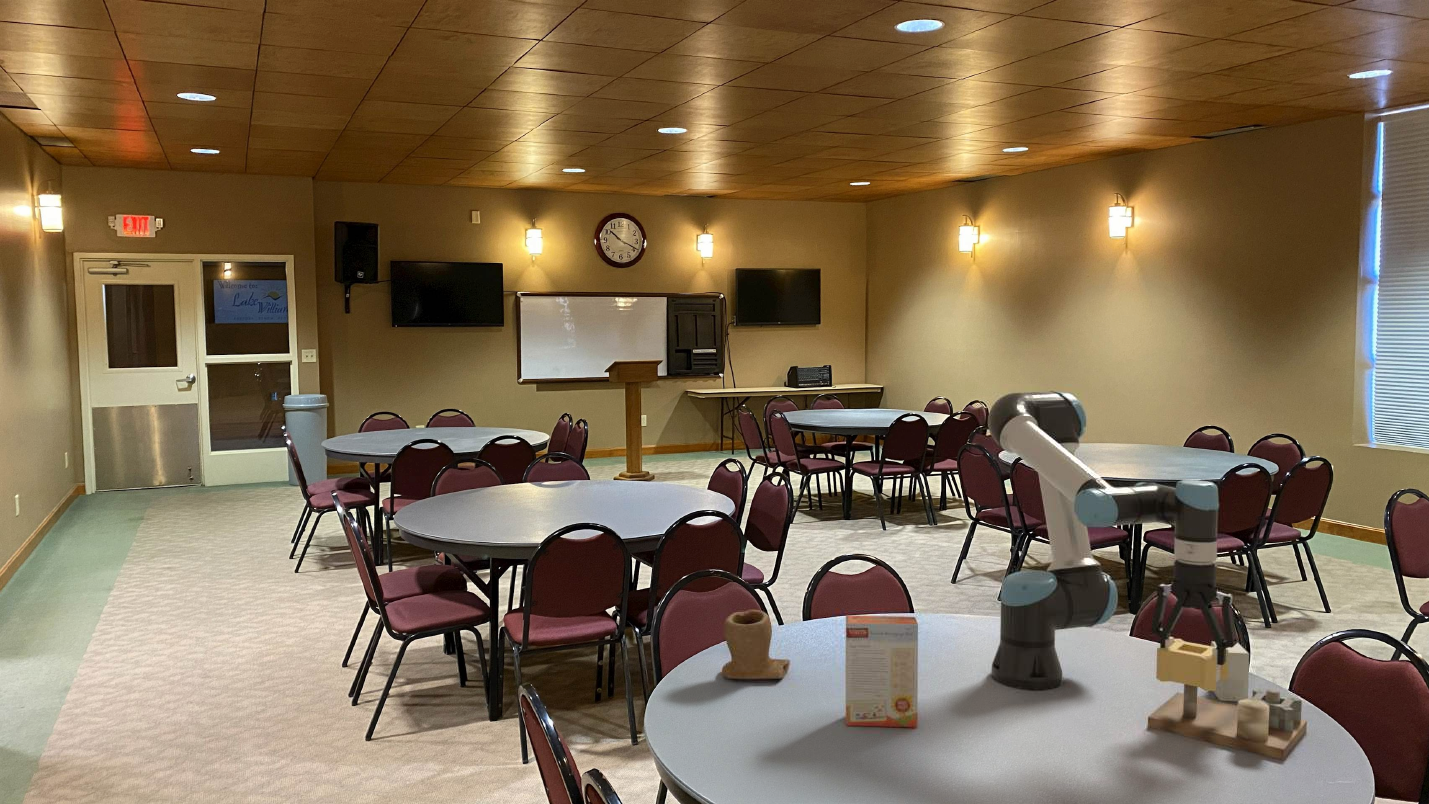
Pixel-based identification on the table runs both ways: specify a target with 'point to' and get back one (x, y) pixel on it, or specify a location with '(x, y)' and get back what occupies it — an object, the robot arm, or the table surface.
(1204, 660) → the tan notched block
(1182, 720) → the board
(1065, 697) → the table surface
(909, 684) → the cracker box
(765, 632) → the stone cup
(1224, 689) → the small box
